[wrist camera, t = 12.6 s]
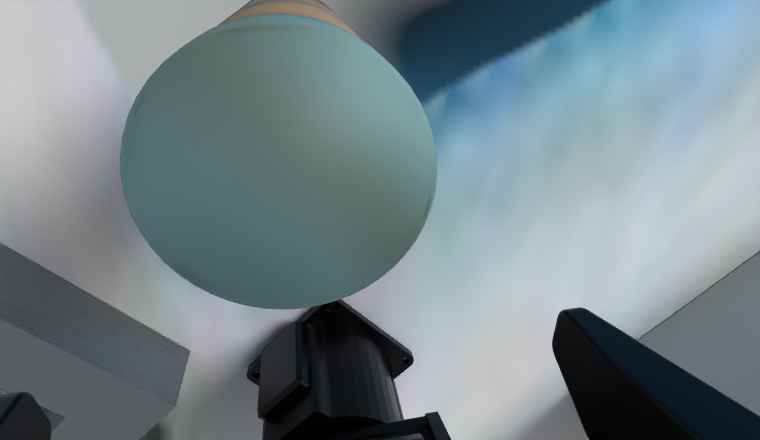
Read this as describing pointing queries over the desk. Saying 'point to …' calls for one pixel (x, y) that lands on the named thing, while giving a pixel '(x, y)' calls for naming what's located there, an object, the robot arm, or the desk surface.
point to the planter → (719, 336)
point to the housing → (82, 357)
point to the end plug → (279, 159)
